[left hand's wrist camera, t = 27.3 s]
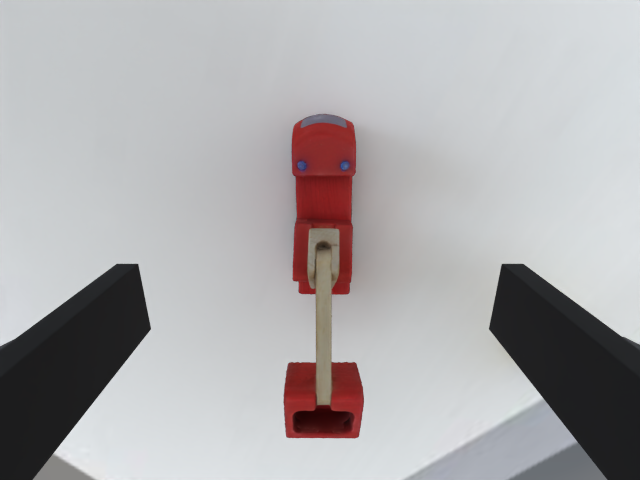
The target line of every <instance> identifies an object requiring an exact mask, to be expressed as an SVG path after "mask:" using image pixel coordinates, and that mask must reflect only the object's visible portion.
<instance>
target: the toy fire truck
mask: <svg viewBox="0 0 640 480" xmlns="http://www.w3.org/2000/svg"><path fill="white" fill-rule="evenodd" d="M355 168H356V141H355V133H354V125H353V124H352V122H350V121H348V120H346V119H343V118H341V117H338V116H334V115H328V114H318V115H314V116H310V117H307V118H305V119H303V120H301V121H299V122H298V123H296V124H295V126H294V128H293V135H292V173H293V175H294V176H296V202H297V219H296V223H295V230H294V255H293V281H299V293H301V294H316V363H310V362H306V363H304V362H302V363H299V362H296V363H293V362H291V363H289V364H288V368H287V371H286V381H285V389H284V415H285V428H286V437H288V438H357V437H359V432H360V426H361V420H362V412H363V404H364V396H363V386H362V382H361V379H360V376H359V372H358V368H357V364H356V363H355V362H353V363H348V362H344V363H340V362H338V363H334V362H331V317H332V315H331V294H349V292H350V282H351V276H352V232H353V226H352V223H351V211H352V209H351V204H352V203H351V202H352V176H354V174H355V173H356V170H355Z"/></svg>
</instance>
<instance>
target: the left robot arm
mask: <svg viewBox="0 0 640 480" xmlns="http://www.w3.org/2000/svg"><path fill="white" fill-rule="evenodd" d="M150 330H151V327H150V322H149V317H148V312H147V307H146V302H145V296H144V291H143V286H142V281H141V276H140V271H139V266H138V264H116V265H115V266H113V267H112V268H111V269H109V270H108V271H107V272H105V273H104V274H103V275H101V276H100V277H99V278H97V279H96V280H94V281H93V282H92V283H90V284H89V285H88V286H86V287H85V288H84V289H82V290H81V291H80V292H78V293H77V294H76V295H74V296H73V297H71V298H70V299H69V300H67V301H66V302H65V303H63V304H62V305H61V306H59V307H58V308H57V309H55V310H54V311H53V312H51V313H50V314H48V315H47V316H46V317H44V318H43V319H42V320H40V321H39V322H38V323H36V324H35V325H34V326H32V327H31V328H30V329H28V330H27V331H25V332H24V333H23V334H21V335H20V336H19V337H17V338H16V339H14V340H12V341H10V342H8V343H6V344H4V345H2V346H0V480H33V478H34V477H35V476H36V475H37V473H38V472H39V471H40V470H41V468H42V467H43V466H44V464H45V463H46V462H47V461H48V459H49V458H50V457H51V456H52V454H53V453H54V452H55V450H56V449H57V448H58V447H59V445H60V444H61V443H62V442H63V440H64V439H65V438H66V436H67V435H68V434H69V433H70V431H71V430H72V429H73V428H74V426H75V425H76V424H77V422H78V421H79V420H80V419H81V417H82V416H83V415H84V414H85V412H86V411H87V410H88V408H89V407H90V406H91V405H92V403H93V402H94V401H95V400H96V398H97V397H98V396H99V394H100V393H101V392H102V391H103V389H104V388H105V387H106V386H107V384H108V383H109V382H110V380H111V379H112V378H113V377H114V375H115V374H116V373H117V372H118V370H119V369H120V368H121V366H122V365H123V364H124V363H125V361H126V360H127V359H128V358H129V356H130V355H131V354H132V352H133V351H134V350H135V349H136V347H137V346H138V345H139V344H140V342H141V341H142V340H143V338H144V337H145V336H146V335H147V333H148V332H149V331H150ZM489 330H490V331H491V332H492V333H493V335H494V336H495V337H496V338H497V340H498V341H499V342H500V344H501V345H502V346H503V347H504V349H505V350H506V351H507V352H508V354H509V355H510V356H511V358H512V359H513V360H514V361H515V363H516V364H517V365H518V366H519V368H520V369H521V370H522V372H523V373H524V374H525V375H526V377H527V378H528V379H529V380H530V382H531V383H532V384H533V386H534V387H535V388H536V389H537V391H538V392H539V393H540V394H541V396H542V397H543V398H544V400H545V401H546V402H547V403H548V405H549V406H550V407H551V408H552V410H553V411H554V412H555V414H556V415H557V416H558V417H559V419H560V420H561V421H562V422H563V424H564V425H565V426H566V428H567V429H568V430H569V431H570V433H571V434H572V435H573V436H574V438H575V439H576V440H577V442H578V443H579V444H580V445H581V447H582V448H583V449H584V450H585V452H586V453H587V454H588V456H589V457H590V458H591V459H592V461H593V462H594V463H595V464H596V466H597V467H598V468H599V470H600V471H601V472H602V473H603V475H604V476H605V477H606V478H607V480H640V345H639V344H637V343H635V342H633V341H631V340H629V339H627V338H625V337H621V336H620V335H619V334H617V333H616V332H615V331H613V330H612V329H610V328H609V327H608V326H606V325H605V324H604V323H602V322H601V321H600V320H598V319H597V318H596V317H594V316H593V315H592V314H590V313H589V312H587V311H586V310H585V309H583V308H582V307H581V306H579V305H578V304H577V303H575V302H574V301H573V300H571V299H570V298H569V297H567V296H566V295H564V294H563V293H562V292H560V291H559V290H558V289H556V288H555V287H554V286H552V285H551V284H550V283H548V282H547V281H546V280H544V279H543V278H541V277H540V276H539V275H537V274H536V273H535V272H533V271H532V270H531V269H529V268H528V267H527V266H525V265H524V264H502V266H501V271H500V276H499V281H498V286H497V291H496V296H495V302H494V307H493V312H492V317H491V322H490V327H489Z"/></svg>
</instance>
